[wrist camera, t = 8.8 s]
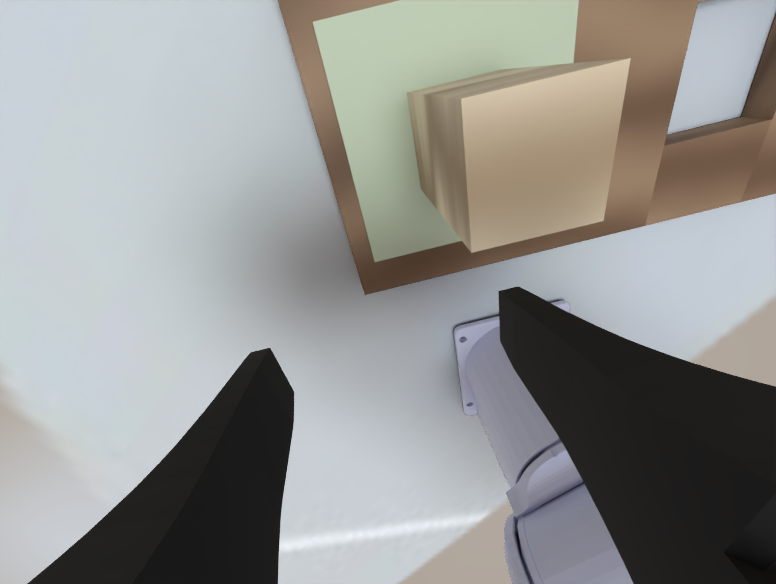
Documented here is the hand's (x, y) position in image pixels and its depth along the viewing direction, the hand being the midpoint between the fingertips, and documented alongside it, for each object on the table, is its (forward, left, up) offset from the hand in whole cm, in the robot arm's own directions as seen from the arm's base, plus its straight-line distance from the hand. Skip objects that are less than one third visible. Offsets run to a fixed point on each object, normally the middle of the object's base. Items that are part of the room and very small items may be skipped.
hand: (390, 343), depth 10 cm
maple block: (+4, -5, -8) cm, 10 cm away
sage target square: (+4, -5, -8) cm, 10 cm away
